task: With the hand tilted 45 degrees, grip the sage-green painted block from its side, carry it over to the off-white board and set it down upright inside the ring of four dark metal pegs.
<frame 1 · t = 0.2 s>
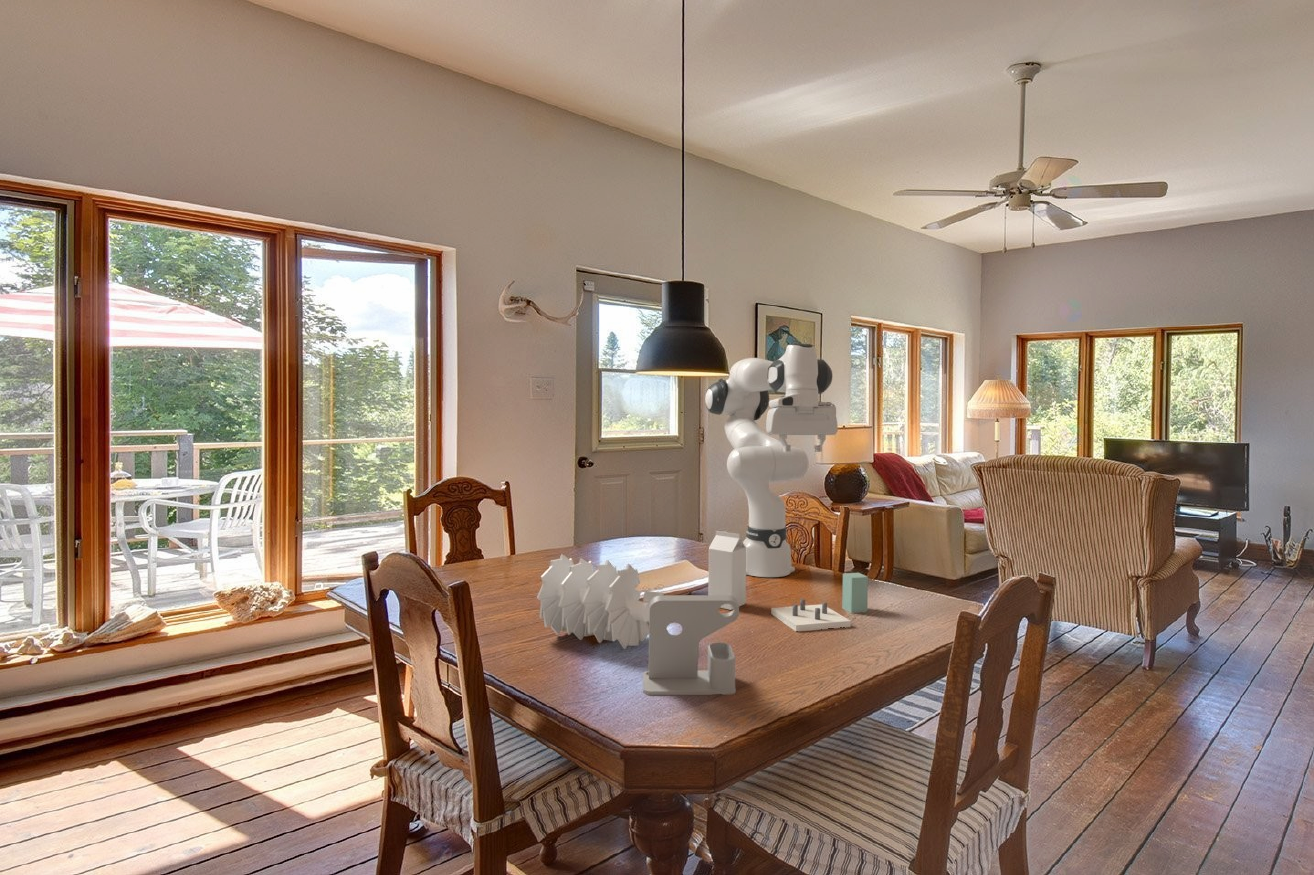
hand: (802, 451, 199), 39 cm above the table, tool pointing down, fingers open, 8 cm apart
block: (854, 610, 185), on the table
peg board: (809, 620, 176), on the table
grey mounting bracket: (688, 685, 137), on the table
milk carton: (726, 605, 189), on the table
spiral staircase: (598, 640, 162), on the table
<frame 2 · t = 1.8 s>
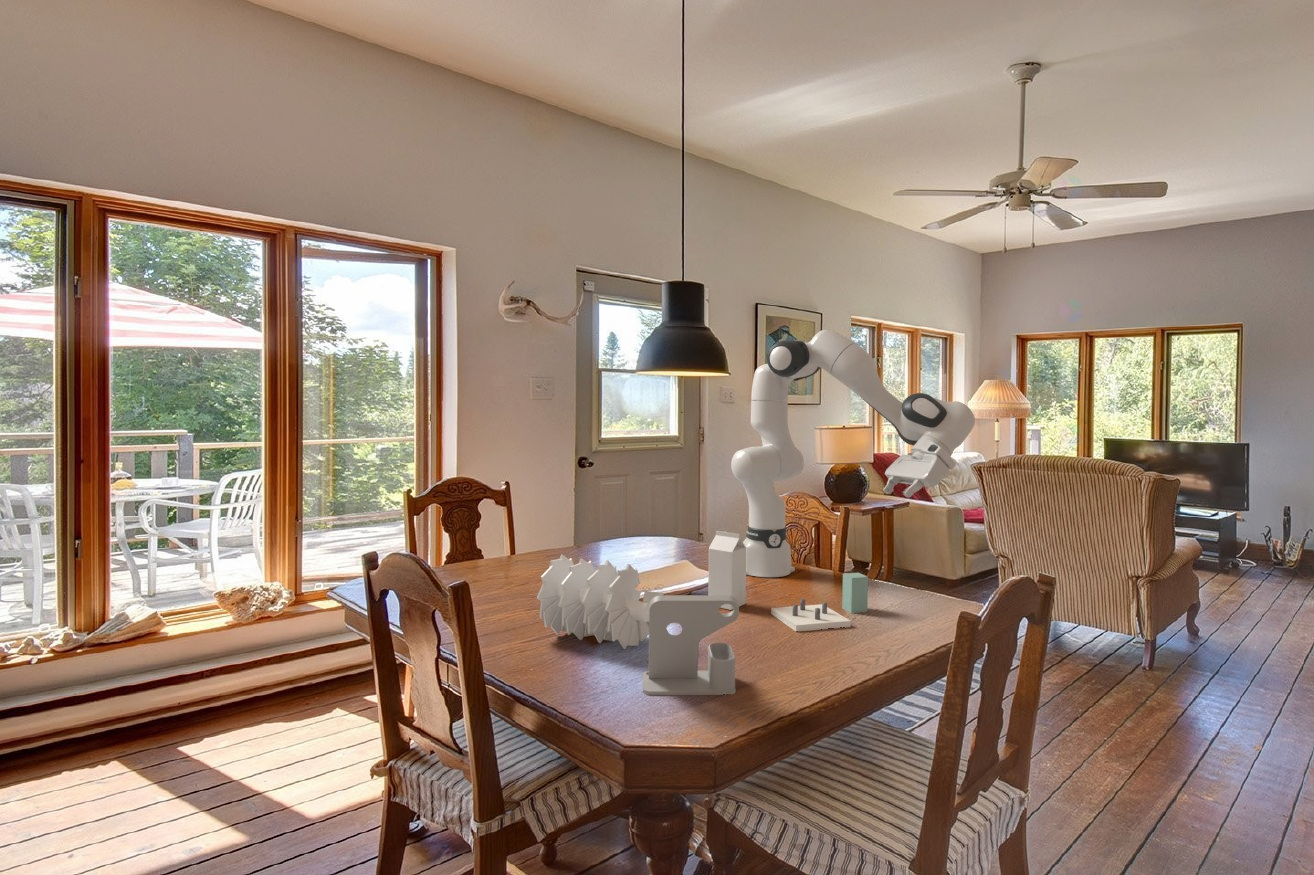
hand: (895, 493, 188), 29 cm above the table, tool tilted 45°, fingers open, 8 cm apart
nothing on the table moved.
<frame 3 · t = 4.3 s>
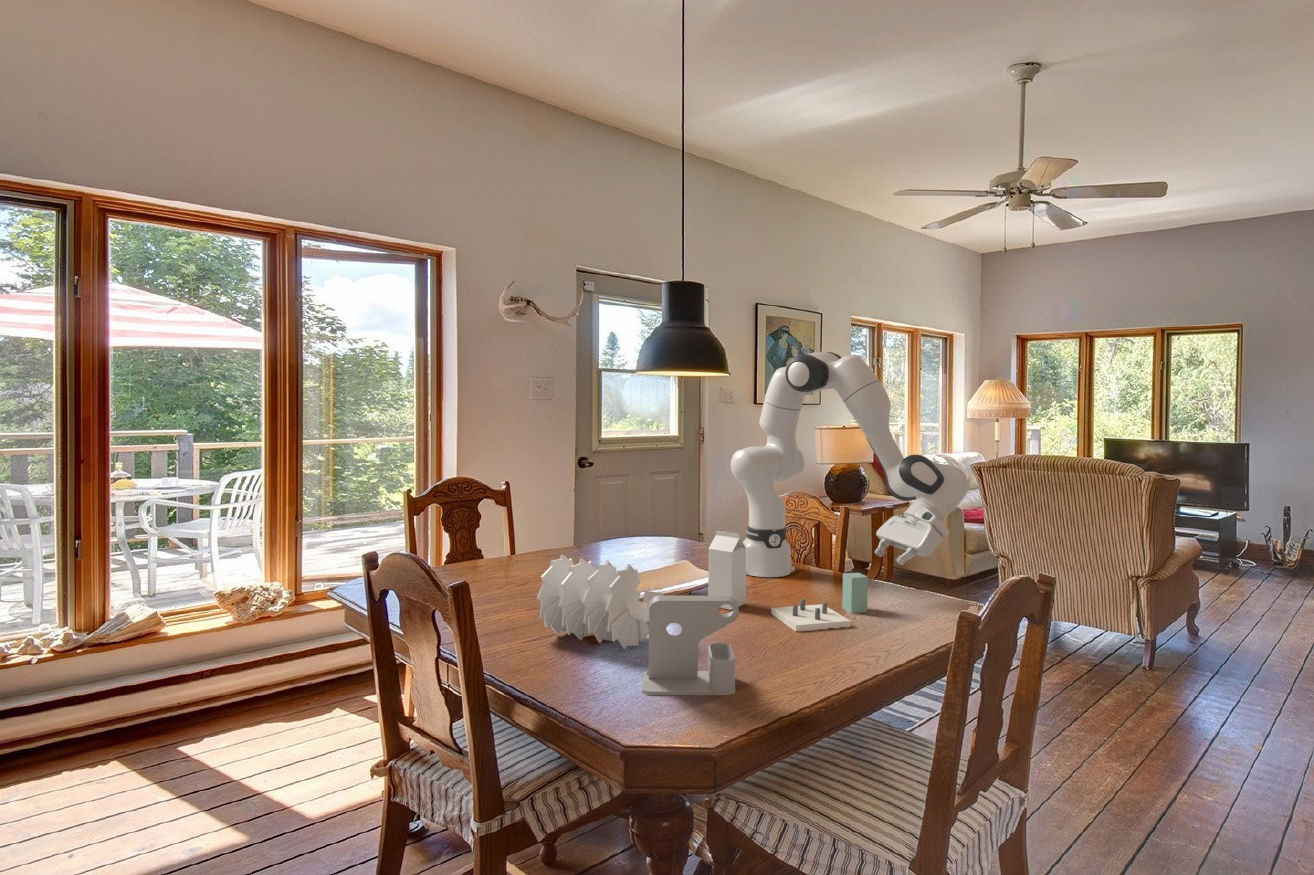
hand: (887, 558, 186), 13 cm above the table, tool tilted 45°, fingers open, 8 cm apart
nothing on the table moved.
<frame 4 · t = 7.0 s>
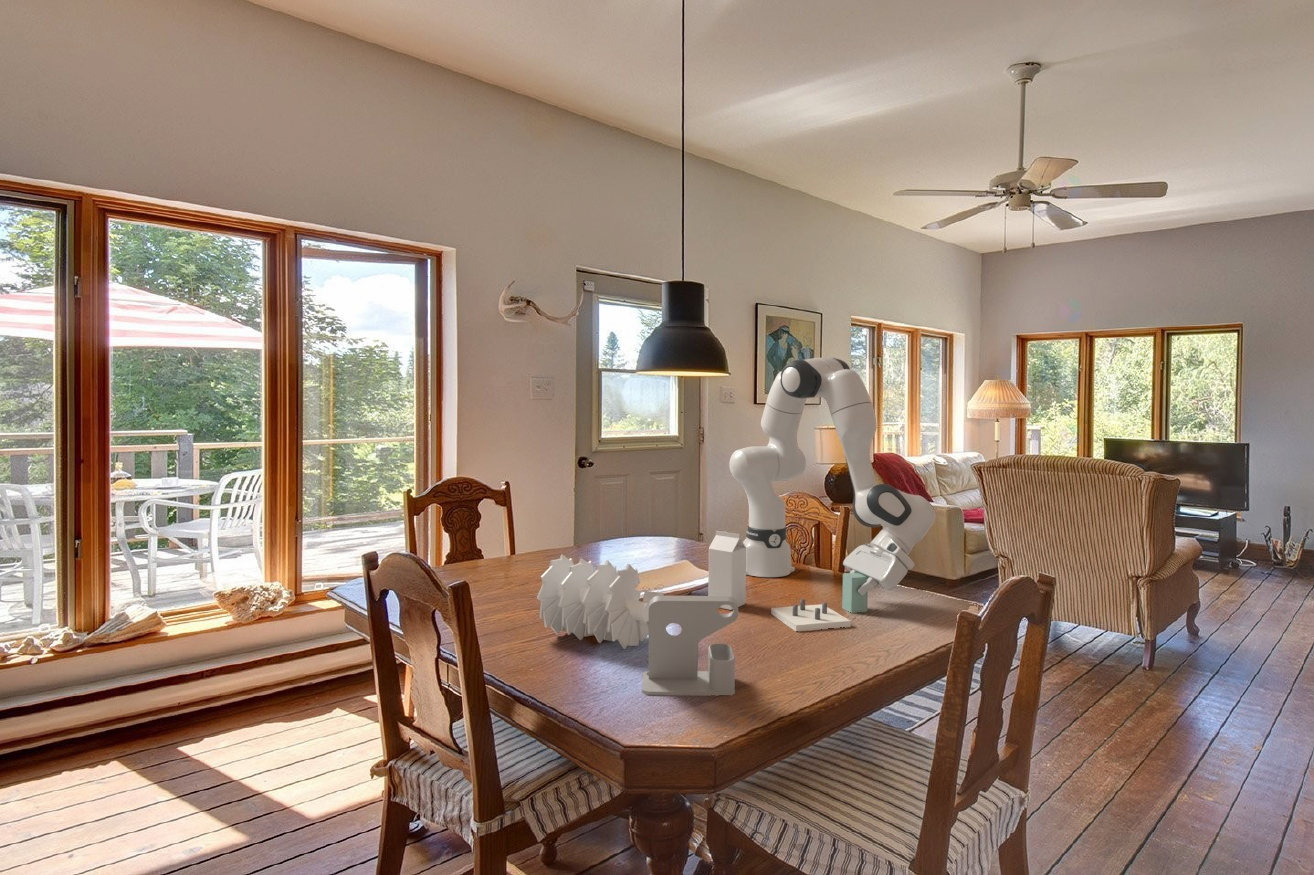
hand: (852, 590, 184), 5 cm above the table, tool tilted 45°, fingers closed on block, 4 cm apart
block: (854, 610, 185), on the table, touching gripper
everything else where it was.
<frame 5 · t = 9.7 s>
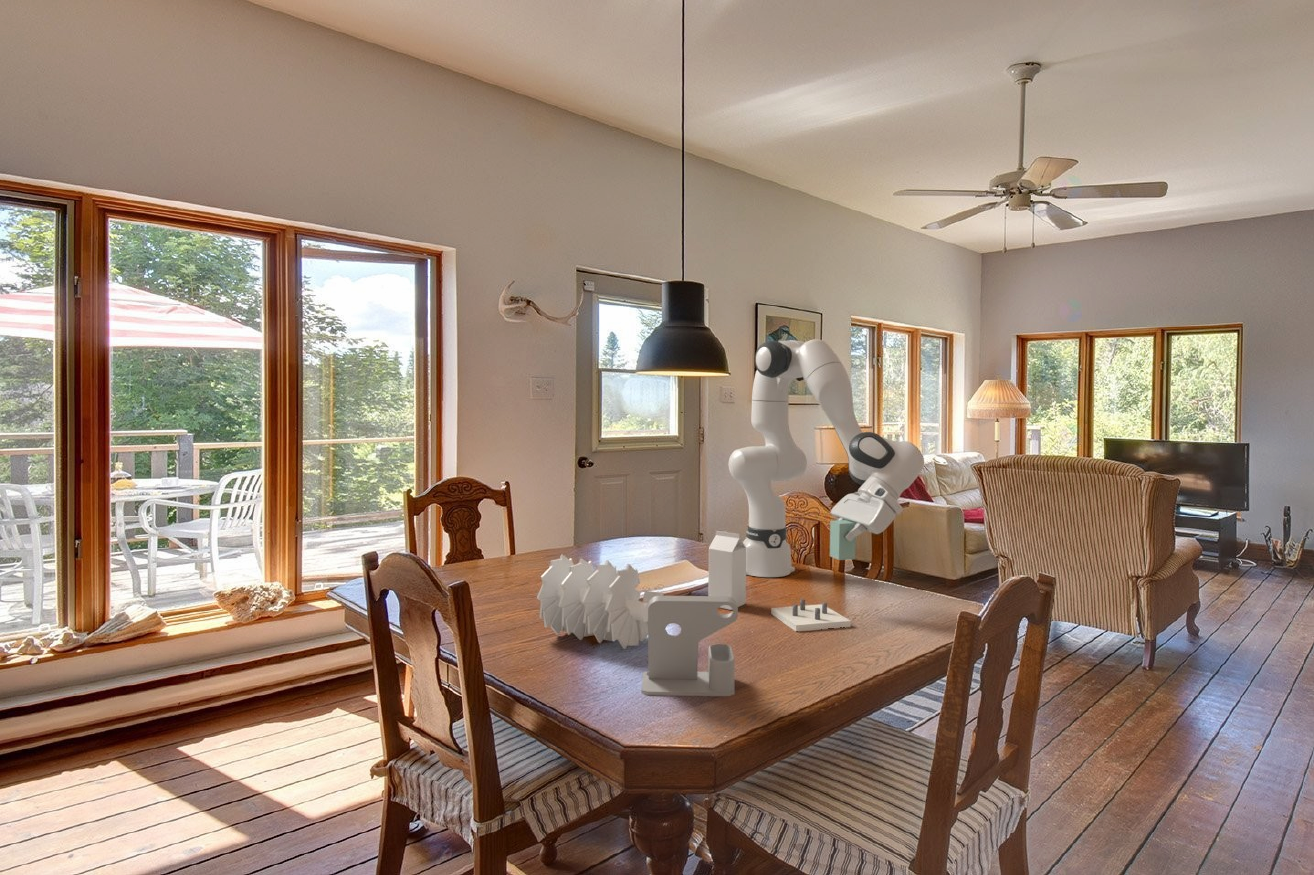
hand: (840, 537, 181), 19 cm above the table, tool tilted 45°, fingers closed on block, 4 cm apart
block: (842, 557, 181), point 14 cm above the table, touching gripper
everything else where it was.
when the fingers open (8 cm above the table, at t = 12.7 s): block drops 1 cm, resting on peg board.
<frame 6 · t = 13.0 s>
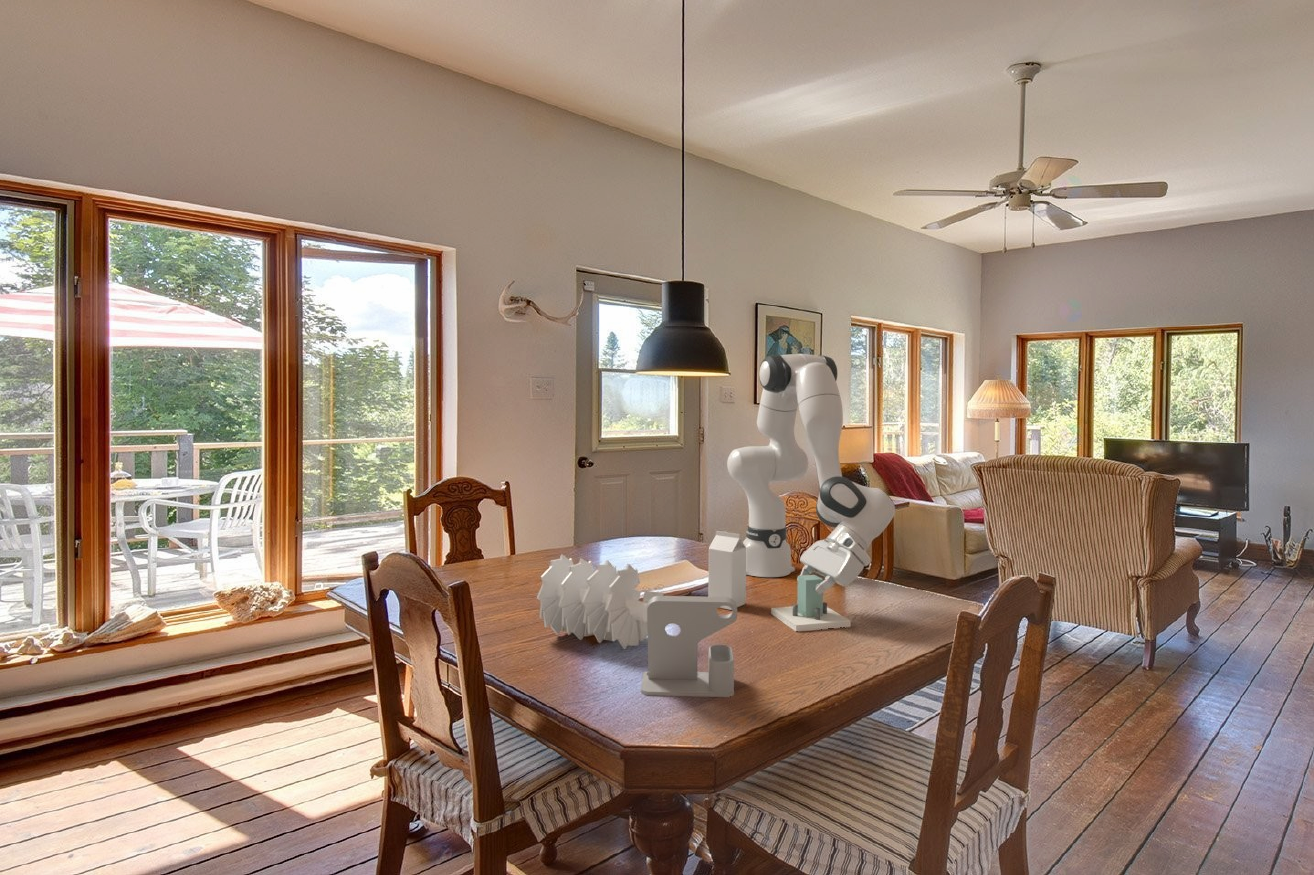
hand: (807, 587, 175), 8 cm above the table, tool tilted 45°, fingers open, 8 cm apart
block: (809, 614, 176), point 1 cm above the table, touching peg board
everything else where it was.
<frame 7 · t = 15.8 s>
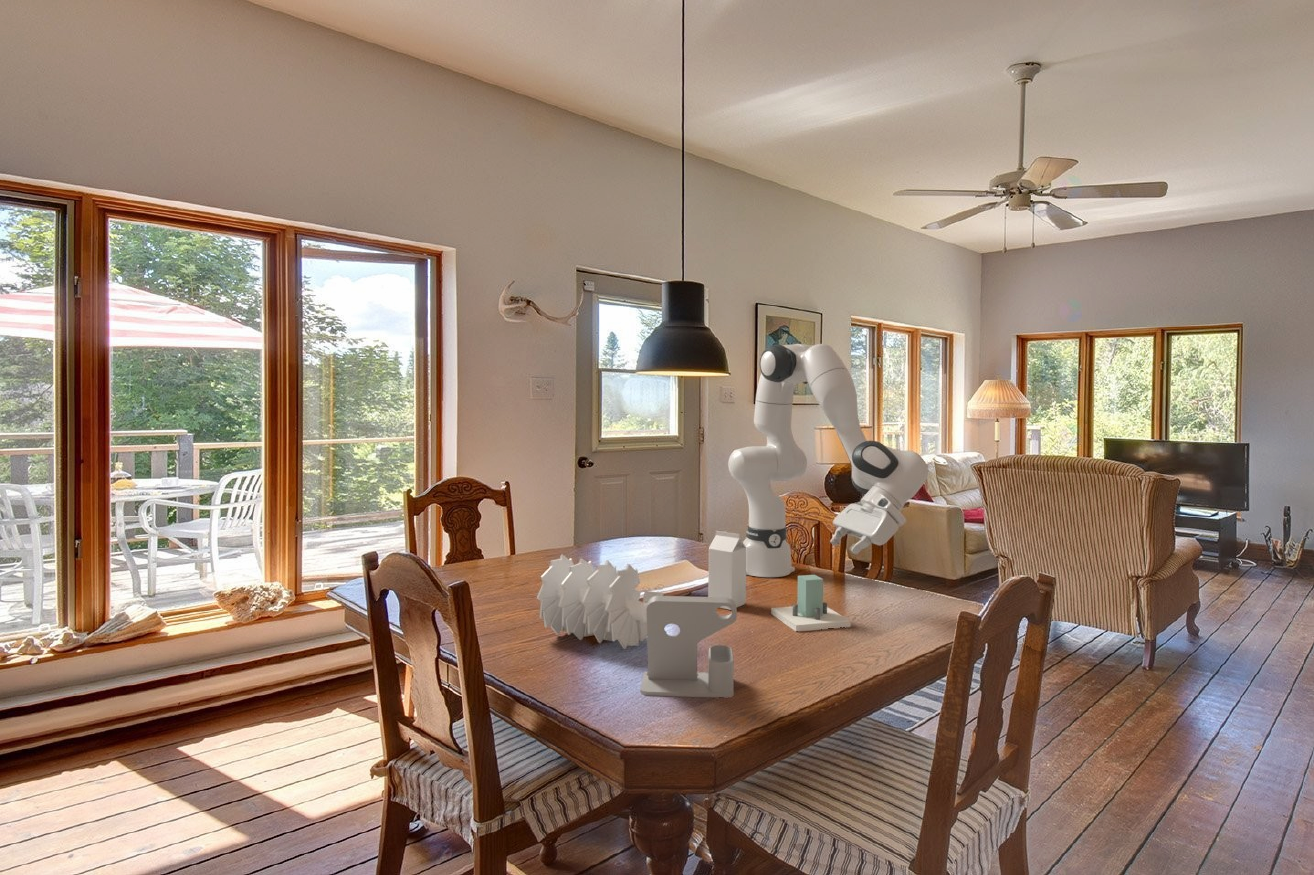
hand: (842, 548, 177), 17 cm above the table, tool tilted 45°, fingers open, 8 cm apart
nothing on the table moved.
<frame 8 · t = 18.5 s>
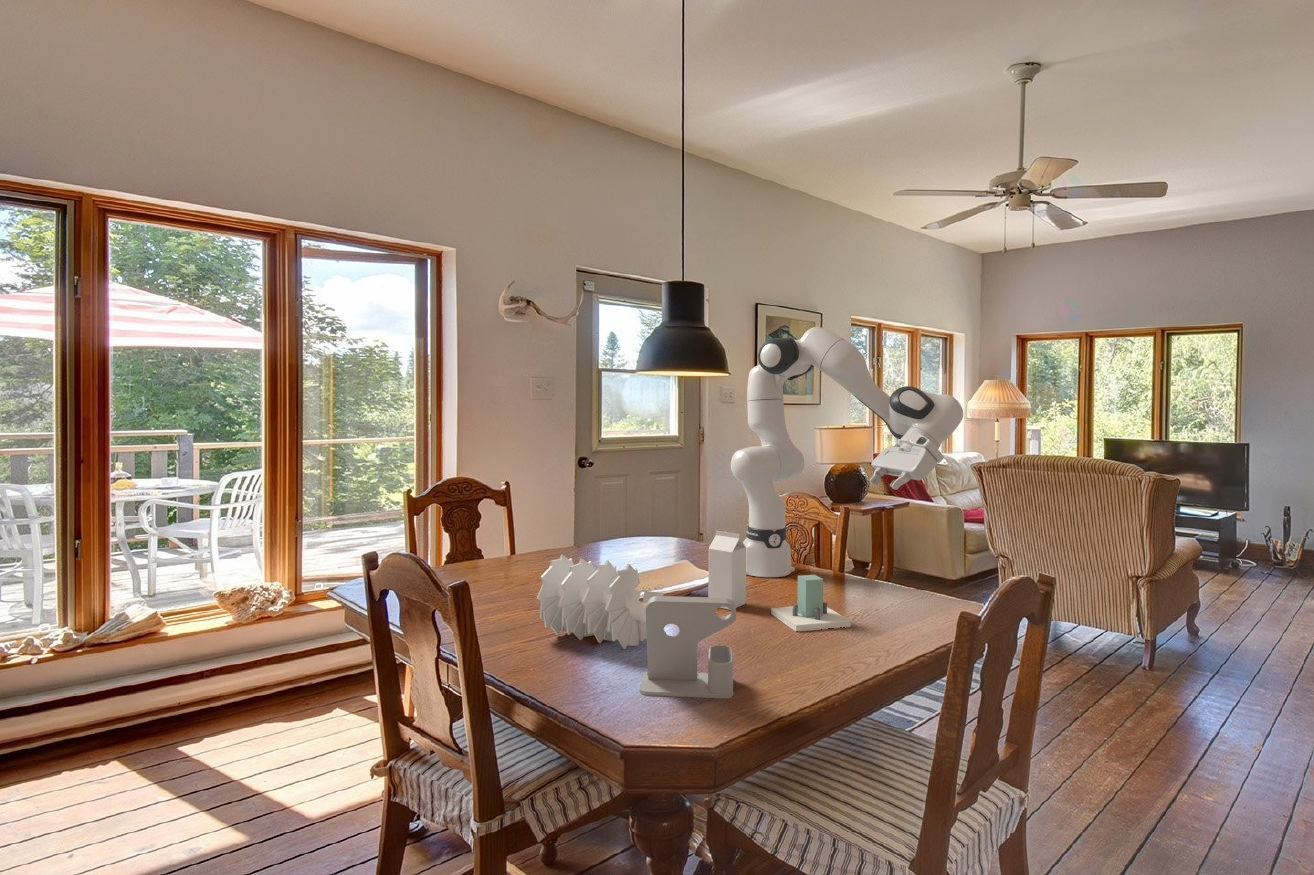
hand: (882, 485, 187), 31 cm above the table, tool tilted 45°, fingers open, 8 cm apart
nothing on the table moved.
at the end: block 0.1 cm off-centre on the peg board, point 1.5 cm above the peg board's base; block tilted 0°; the gripper is holding nothing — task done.
